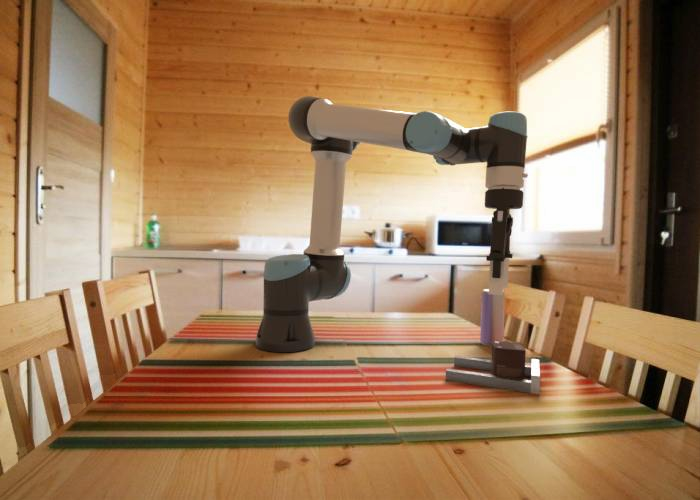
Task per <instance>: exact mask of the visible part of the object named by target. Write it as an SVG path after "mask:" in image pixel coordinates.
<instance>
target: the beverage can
mask: <svg viewBox="0 0 700 500" xmlns="http://www.w3.org/2000/svg"><path fill="white" fill-rule="evenodd" d="M488 290H489V288H484V289H482V293H481V309H480V337H479V341H480V344H481V345H482V346H485V347H491V348H492V341H498V342H504V330H505V328H504V327H505V325H504V324H505V305H506V303H505V302H506V301H505V300H506V294H505V291H504V290H505V289H503V295H493V294H488Z"/></svg>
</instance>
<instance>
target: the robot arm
mask: <svg viewBox="0 0 700 500" xmlns="http://www.w3.org/2000/svg"><path fill="white" fill-rule="evenodd" d="M287 118H288V125H289V129H290V130H291V132H292V134H293V135H294V136H295V137H297V138H298V139H299V140H300V141H302V142H305V143H307V144H310V155H311V156H312V157H313V159H314V160H315V165H314V177H313V179H314V180H313V191H312V192H313V193H312V205H311V206H312V207H311V218H310V219H311V220H310V230H309V231H310V233H309V245H308V246H307V247H306V248H305V249H304V250H303V254H300V253H298V254H297V253H295V254H294V253H292V254H282V255H276V256H272V257H269V258H268V259H267V260H266V261H265V263H264V269H263V270H264V271H263V275H262V277H263V310H262V311H263V313H262V319H261V322H260V324H259V326H258V330H257V334H256V336H255V337H256V338H255V347H256V348H258V349H259V350H262V351H267V352H273V353H292V352H293V353H295V352H302V351H306V350H308V349H312V348H313V347H314V346H315V343H316V342H315V341H316V340H315V337H316V336H315V334H314V329H313V326H312V323H311V320H310V317H309V307H310V306H309V305H310V304H309V303H311V302H315V301H322V300H331V299H333V298H337V297H340V296H341V295H342V294H344V293H345V292H346V290H347V289H348V287H349V285H350V284H351V277H352V274H351V269H350V267H349V266H348V263H347V262H346V260H345V253H344V251H343V250H342V249H341V247H340V246H341V234H342V233H341V232H342V224H343V223H342V219H343V206H344V195H345V181H346V170H347V169H346V167H347V162H348V161H349V160H351V159H352V157H353V151H355V150H356V149H357V148H358V145H360V143H363V144H369V145H373V146H374V145H376V146H379V147H386V148H392V149H399V150H403V151H410V152H413V153H419V154H424V155H426V154H427V155H430V156H433V159H434V160H435V162H436V163H437V165H441V166H455V165H465V164H467V165H468V164H477V163H480V164H481V163H486V169H485V186H484V187H485V188H487V190H486V191H485V192H484V207H485V208H486V209H492V210H494V211H493V213H492V215H493V216H492V217H491V239H490V240H491V242H490V251H489V254H488V255H486V260H485V261H487V262H489V273H488V274H489V275H488V276H489V277H488V289H489V290H488V294H493V295H503V290H504V288H505V289H508V287H509V286H508V284H509V271H510V269H509V268H510V259H513V253H511V251H510V246H511V236H512V228H513V224H514V218H513V216H512V215H511V213H510V210H518V209H519V210H520V209H522V208H523V206H524V192H523V190H522V188H524V182H525V180H524V179H526V178H528V176H529V175H528V173H527V172H525V168H526V154H527V141H528V120H527V119H528V118H527V116H526V115H525V114H523V113H522V112H519V111H511V110H510V111H501V112H500V111H499V112H497V113H493V114H492V115H491V116H489V120H488V123H487V125H485V126H480V127H471V128H464V127H463V126H461V125H460V124H457V123H456V122H453V121H452V120H450V119H448V118H446V117H445V116H443V115H442V114H440V113H437V112H433V111H429V110H423V111H420V112H417V113H416V112H406V111H399V110H398V111H396V110H388V109H379V108H370V107H362V106H361V107H360V106H351V105H343V104H335V103H332V102H331V101H330V100H328V99H327V98H321V97H316V96H313V95H312V96H311V95H310V96H309V95H306V96H303V97H301V98H299V99H297V100H295V101H294V103H292V104H291V107H290V109H289V111H288V117H287ZM495 209H496V210H495Z"/></svg>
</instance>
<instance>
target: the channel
mask: <svg viewBox="0 0 700 500" xmlns="http://www.w3.org/2000/svg"><path fill="white" fill-rule="evenodd" d="M453 358H454V360H453V361H454V363H453V364H454V365H453V366H454V367H459V368H467V369H474V370H480V371H485V372H486V371H487V372H491V359H483V358H476V357H469V356H461V355H455V356H454V357H453ZM530 360H531V363H530V365H529V364H525V377H529V378H530V379H529V380H528V379H525V380H524V379H517V378H510V377H503V376H496V375H491V374H488V373H481V372H476V371H467V370H461V369H455V368H454V369H453V368H446V370H445V381H448V382H456V383H462V384H469V385H474V386H479V387H480V386H481V387H488V388H494V389H500V390H506V391H507V390H508V391H513V392H519V393H520V392H521V393H525V394H531V395H532V394H533V395H540V387H541V369H540V359H536V358H531V359H530Z"/></svg>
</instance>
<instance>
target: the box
mask: <svg viewBox="0 0 700 500" xmlns="http://www.w3.org/2000/svg"><path fill="white" fill-rule="evenodd" d="M526 354H527V353H526V349H525V347H524V346H523V344H522V343H521V342H510V341H509V342H508V341H503V342H498V341H492V347H491V359H490V360H491V371H490V375H496V376H503V377H510V378H517V379H524V380H526V376H525V365H526Z"/></svg>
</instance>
